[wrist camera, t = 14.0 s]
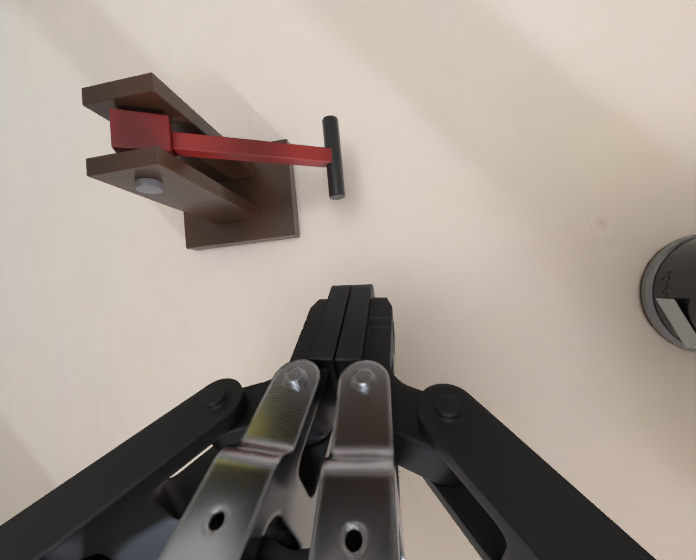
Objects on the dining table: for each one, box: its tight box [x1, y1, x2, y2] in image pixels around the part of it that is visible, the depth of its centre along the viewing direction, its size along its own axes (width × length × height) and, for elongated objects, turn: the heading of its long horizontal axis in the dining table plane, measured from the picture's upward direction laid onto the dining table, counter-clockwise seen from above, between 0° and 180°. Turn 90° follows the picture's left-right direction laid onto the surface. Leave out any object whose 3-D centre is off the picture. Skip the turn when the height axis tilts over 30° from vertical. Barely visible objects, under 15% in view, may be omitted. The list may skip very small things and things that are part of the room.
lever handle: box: [109, 108, 345, 200], centre depth 20 cm, size 14×6×2 cm, turn 96°
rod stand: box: [82, 73, 299, 250], centre depth 22 cm, size 11×9×13 cm
